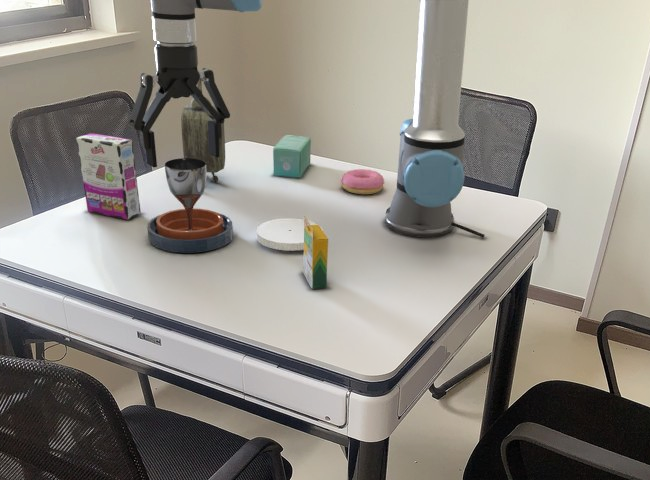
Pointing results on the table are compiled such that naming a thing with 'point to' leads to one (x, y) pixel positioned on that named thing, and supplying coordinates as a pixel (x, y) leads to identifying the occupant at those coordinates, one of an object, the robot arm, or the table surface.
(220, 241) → the serving bowl
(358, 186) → the doughnut
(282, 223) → the plastic lid
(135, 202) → the candy bar box
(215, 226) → the small bowl
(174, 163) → the wine glass
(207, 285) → the table surface
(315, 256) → the crayon box
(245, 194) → the table surface
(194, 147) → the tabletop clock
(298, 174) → the box
